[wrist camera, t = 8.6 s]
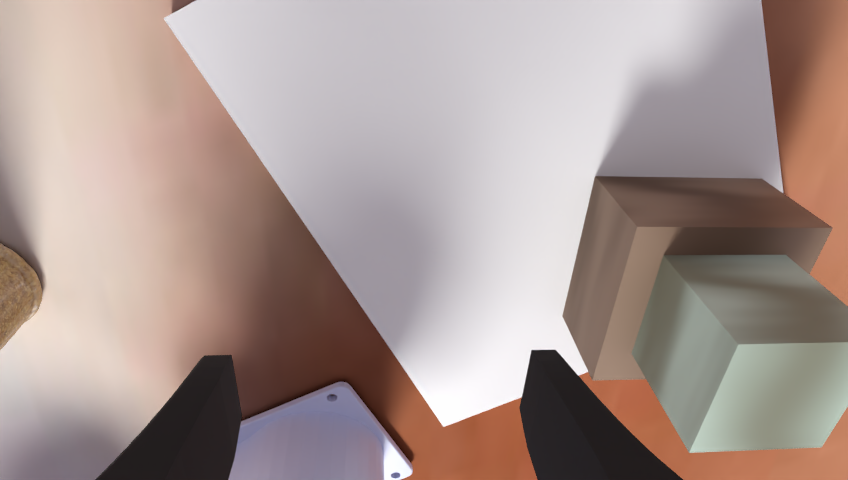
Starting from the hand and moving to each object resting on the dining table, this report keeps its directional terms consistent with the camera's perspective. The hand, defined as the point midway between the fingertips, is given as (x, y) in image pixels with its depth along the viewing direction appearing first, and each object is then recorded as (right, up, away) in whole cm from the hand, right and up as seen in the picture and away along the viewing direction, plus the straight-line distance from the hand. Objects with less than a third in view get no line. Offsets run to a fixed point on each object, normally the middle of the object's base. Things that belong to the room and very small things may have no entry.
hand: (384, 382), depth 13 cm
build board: (+5, +6, +9) cm, 12 cm away
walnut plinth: (+11, +3, +10) cm, 15 cm away
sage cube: (+11, +1, +7) cm, 13 cm away
